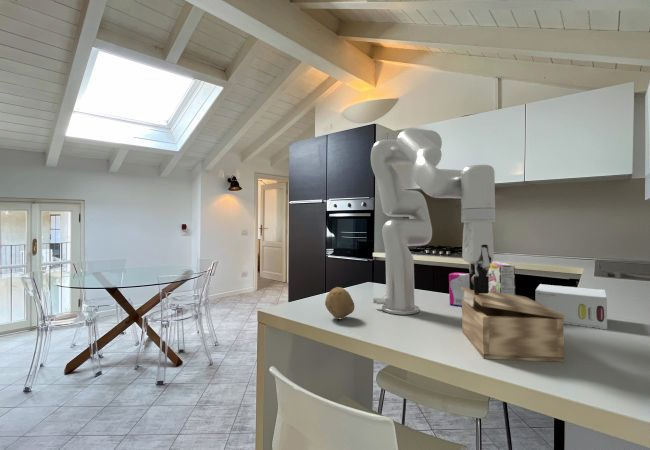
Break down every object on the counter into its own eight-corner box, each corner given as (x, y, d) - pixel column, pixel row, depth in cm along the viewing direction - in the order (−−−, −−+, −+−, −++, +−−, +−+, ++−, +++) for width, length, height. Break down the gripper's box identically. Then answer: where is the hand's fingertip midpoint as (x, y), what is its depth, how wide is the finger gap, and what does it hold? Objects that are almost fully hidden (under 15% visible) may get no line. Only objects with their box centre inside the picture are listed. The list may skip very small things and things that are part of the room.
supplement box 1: (471, 304, 120) (470, 273, 120) (465, 307, 116) (464, 275, 116) (455, 302, 124) (454, 271, 124) (449, 305, 120) (448, 273, 120)
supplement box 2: (534, 320, 100) (534, 289, 100) (540, 311, 110) (539, 283, 110) (608, 330, 89) (607, 296, 89) (606, 319, 100) (605, 288, 100)
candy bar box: (484, 308, 114) (483, 261, 114) (498, 308, 114) (497, 261, 114) (500, 317, 103) (499, 265, 103) (516, 317, 103) (515, 264, 103)
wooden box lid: (479, 312, 72) (483, 278, 72) (458, 295, 90) (462, 267, 90) (562, 326, 69) (567, 290, 69) (524, 305, 87) (528, 277, 87)
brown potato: (320, 316, 107) (320, 286, 107) (345, 313, 111) (344, 283, 111) (332, 324, 99) (331, 290, 99) (358, 320, 102) (357, 288, 102)
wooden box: (483, 358, 72) (482, 317, 72) (462, 332, 89) (461, 299, 89) (564, 361, 69) (563, 319, 69) (526, 334, 87) (525, 300, 87)
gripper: (454, 217, 89) (455, 285, 89) (470, 216, 73) (471, 298, 73) (483, 216, 88) (484, 285, 88) (507, 215, 72) (508, 299, 72)
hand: (478, 290), depth 80 cm, fingers closed on wooden box lid, 3 cm apart
